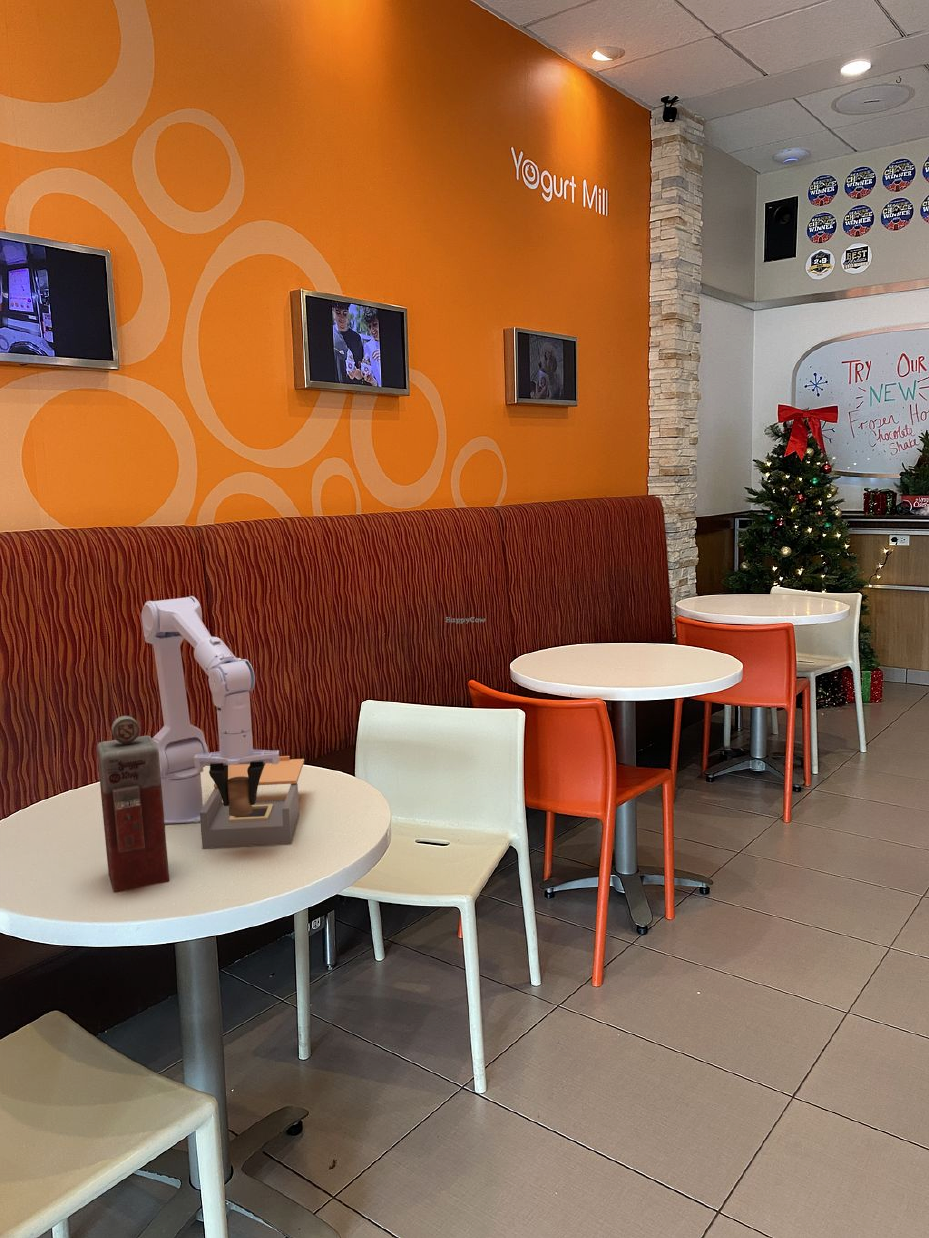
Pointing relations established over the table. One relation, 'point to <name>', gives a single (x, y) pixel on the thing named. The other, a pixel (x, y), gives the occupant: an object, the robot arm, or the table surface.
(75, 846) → the table surface
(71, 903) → the table surface
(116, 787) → the vintage gas pump
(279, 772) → the lid
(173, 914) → the table surface
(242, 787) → the brown cylinder
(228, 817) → the housing
